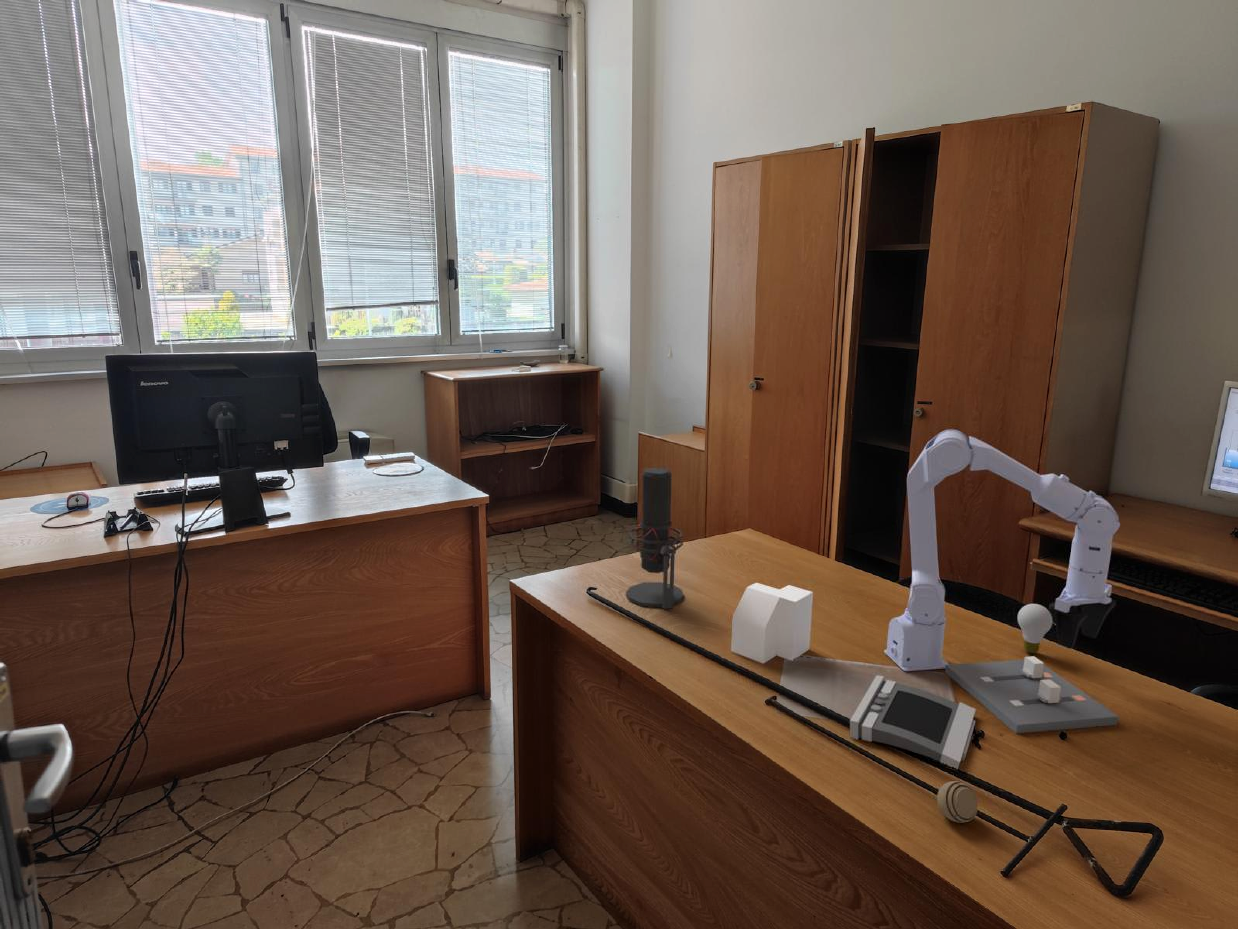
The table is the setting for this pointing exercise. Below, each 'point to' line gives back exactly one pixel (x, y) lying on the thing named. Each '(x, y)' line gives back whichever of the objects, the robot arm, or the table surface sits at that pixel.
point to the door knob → (957, 801)
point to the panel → (1028, 697)
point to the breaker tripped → (1049, 691)
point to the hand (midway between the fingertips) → (1077, 641)
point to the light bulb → (1034, 625)
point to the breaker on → (1033, 667)
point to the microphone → (656, 542)
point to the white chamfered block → (772, 622)
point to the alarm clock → (914, 721)
